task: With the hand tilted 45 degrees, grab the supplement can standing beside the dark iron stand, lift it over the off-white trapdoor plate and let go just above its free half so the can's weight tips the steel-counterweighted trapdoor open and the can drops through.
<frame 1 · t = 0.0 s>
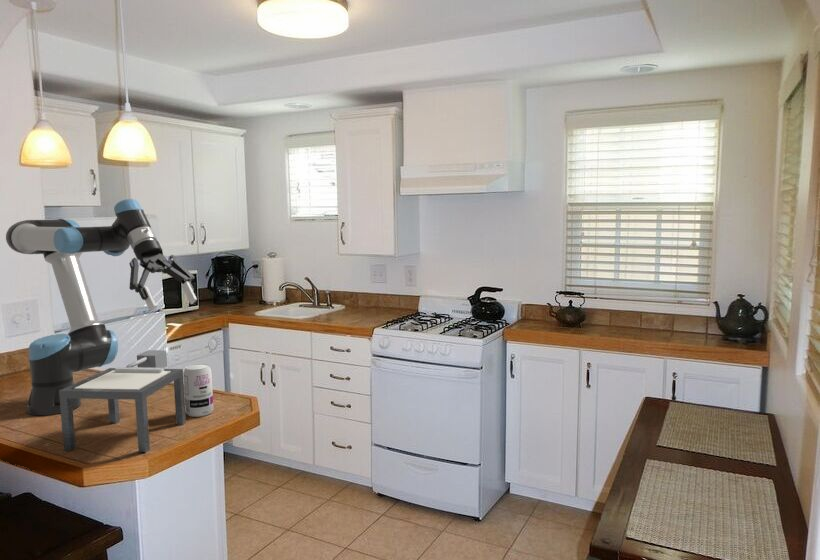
hand: (174, 304, 179), 36 cm above the table, tool tilted 35°, fingers open, 13 cm apart
stand: (128, 435, 174), on the table
supplement can: (199, 413, 192), on the table
trapdoor: (140, 372, 180), point 16 cm above the table, hinge at 0.0°
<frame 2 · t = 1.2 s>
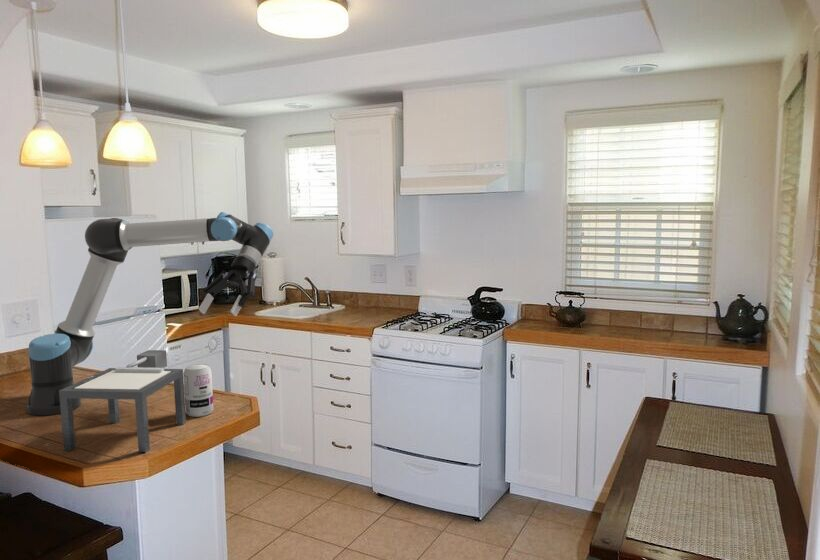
hand: (217, 312, 197), 30 cm above the table, tool tilted 45°, fingers open, 13 cm apart
nothing on the table moved.
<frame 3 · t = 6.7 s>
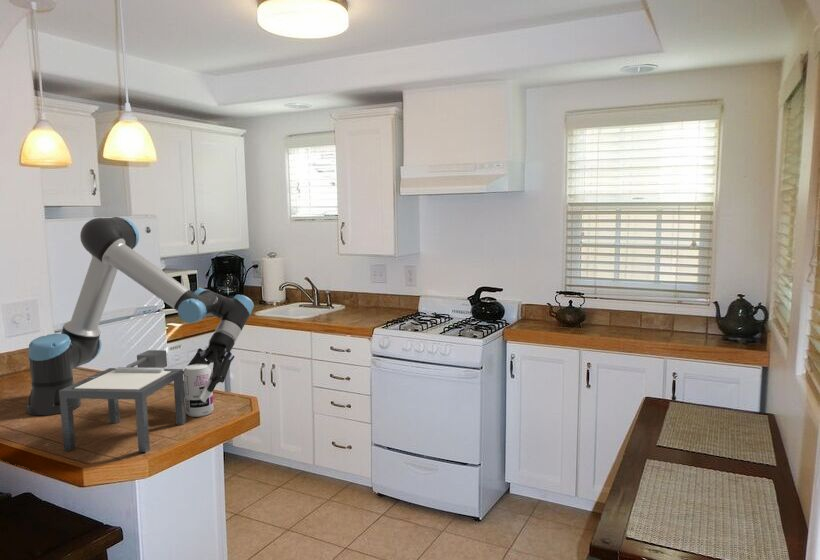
hand: (190, 398, 189), 6 cm above the table, tool tilted 45°, fingers closed on supplement can, 8 cm apart
supplement can: (199, 413, 192), on the table, touching gripper
everything else where it was.
when the fingers open (25 cm above the table, at t = 12.7 s): supplement can drops 8 cm, resting on stand, trapdoor.
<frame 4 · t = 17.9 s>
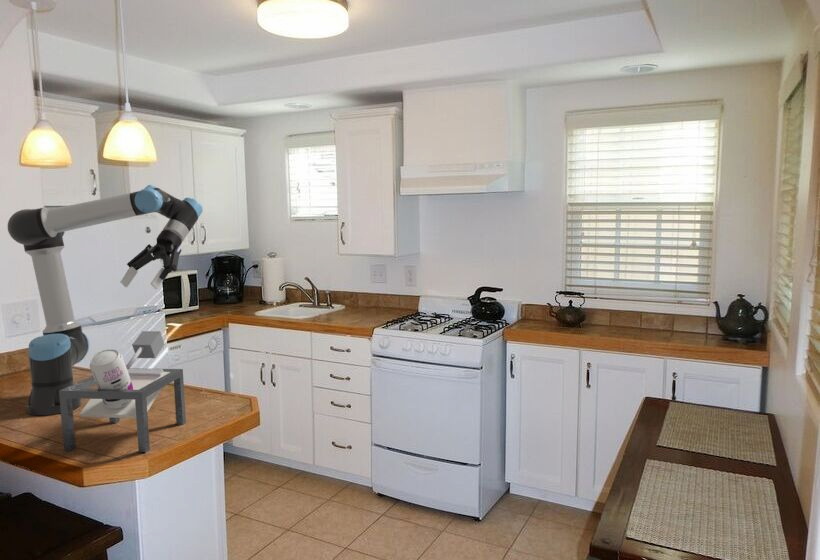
hand: (138, 285, 196), 40 cm above the table, tool tilted 45°, fingers open, 13 cm apart
supplement can: (120, 400, 170), point 11 cm above the table, touching stand, trapdoor
trapdoor: (140, 373, 180), point 16 cm above the table, hinge at -24.7°, touching supplement can
at the end: supplement can inside the target area (2.1 cm from its centre), point 11.1 cm above the table; the gripper is holding nothing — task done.
